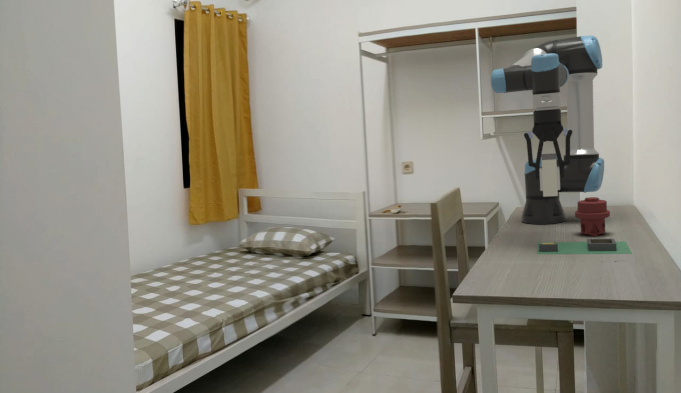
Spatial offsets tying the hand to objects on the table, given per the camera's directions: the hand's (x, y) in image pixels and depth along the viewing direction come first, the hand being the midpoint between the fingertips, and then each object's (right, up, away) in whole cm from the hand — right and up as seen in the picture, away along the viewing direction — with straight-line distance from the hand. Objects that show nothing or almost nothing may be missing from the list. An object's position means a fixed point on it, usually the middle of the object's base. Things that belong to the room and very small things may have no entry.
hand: (550, 189), depth 180 cm
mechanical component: (+17, -15, +12) cm, 26 cm away
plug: (0, -2, 0) cm, 2 cm away
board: (+7, -17, -6) cm, 20 cm away
